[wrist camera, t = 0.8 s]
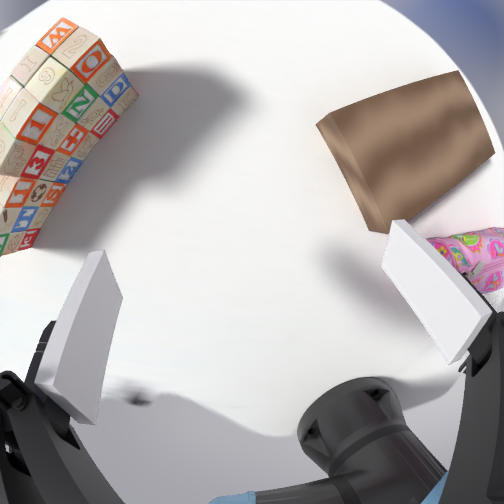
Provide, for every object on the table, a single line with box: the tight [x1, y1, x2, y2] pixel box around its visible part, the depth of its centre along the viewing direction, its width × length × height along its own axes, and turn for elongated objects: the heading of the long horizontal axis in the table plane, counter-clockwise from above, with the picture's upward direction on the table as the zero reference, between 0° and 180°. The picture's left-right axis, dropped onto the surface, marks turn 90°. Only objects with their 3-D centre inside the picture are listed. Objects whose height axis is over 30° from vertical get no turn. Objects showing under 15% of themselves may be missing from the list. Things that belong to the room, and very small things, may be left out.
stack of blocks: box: [0, 18, 138, 257], centre depth 18 cm, size 21×6×12 cm, turn 139°
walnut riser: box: [316, 70, 495, 234], centre depth 26 cm, size 13×25×4 cm, turn 119°
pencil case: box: [426, 227, 504, 294], centre depth 27 cm, size 21×9×9 cm, turn 94°
